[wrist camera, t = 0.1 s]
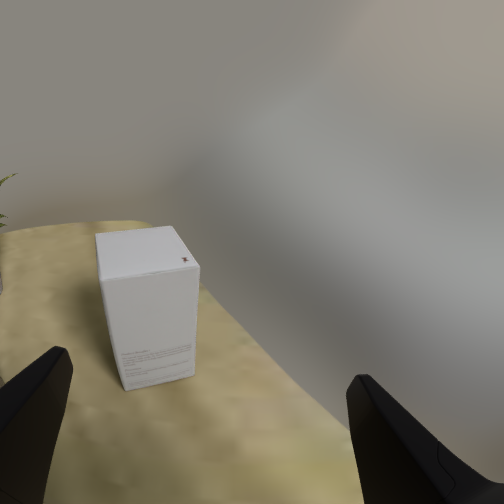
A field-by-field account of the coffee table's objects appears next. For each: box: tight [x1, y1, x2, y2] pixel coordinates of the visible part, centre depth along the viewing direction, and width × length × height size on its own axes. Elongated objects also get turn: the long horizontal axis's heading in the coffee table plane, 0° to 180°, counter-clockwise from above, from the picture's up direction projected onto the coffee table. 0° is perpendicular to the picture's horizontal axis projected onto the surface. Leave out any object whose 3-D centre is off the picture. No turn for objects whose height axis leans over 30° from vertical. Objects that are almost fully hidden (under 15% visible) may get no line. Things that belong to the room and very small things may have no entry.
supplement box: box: [95, 226, 200, 391], centre depth 25 cm, size 7×7×13 cm
